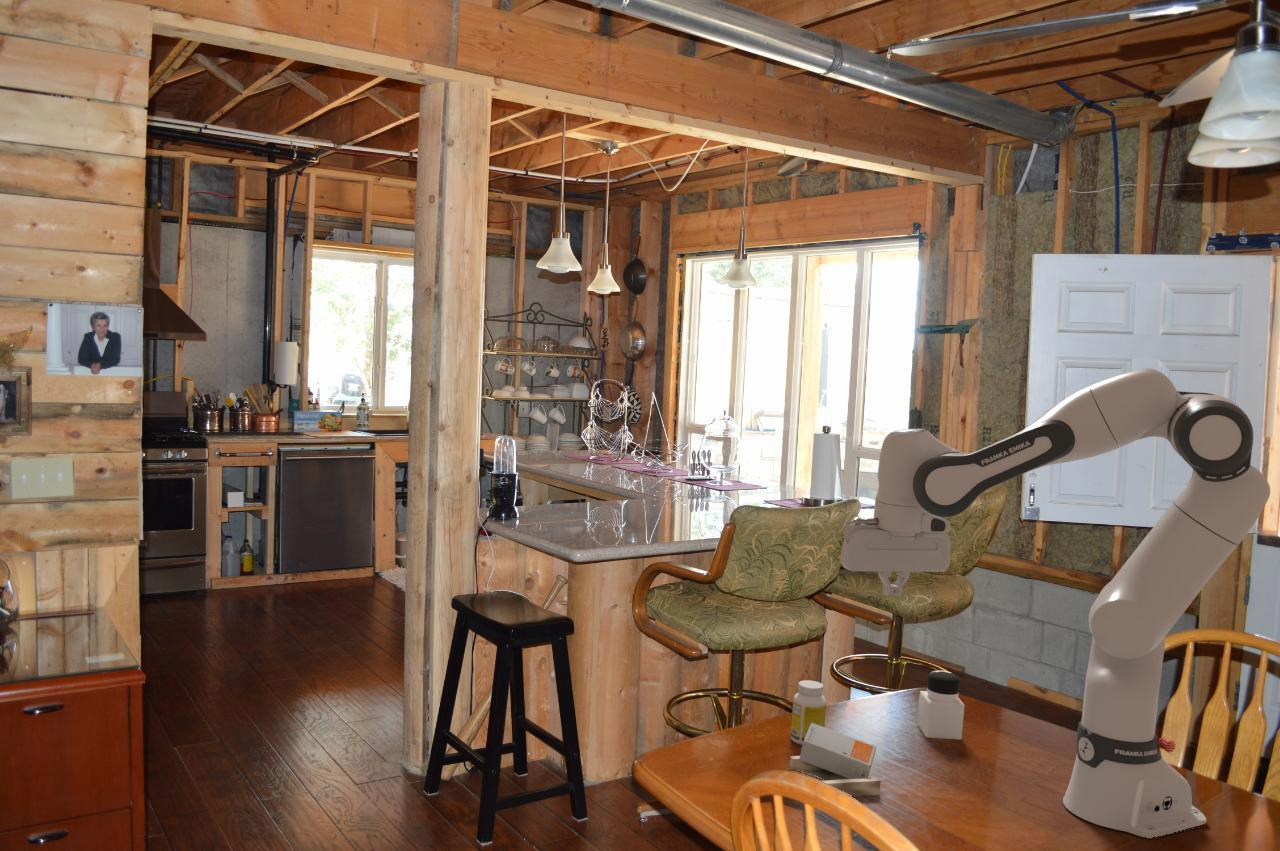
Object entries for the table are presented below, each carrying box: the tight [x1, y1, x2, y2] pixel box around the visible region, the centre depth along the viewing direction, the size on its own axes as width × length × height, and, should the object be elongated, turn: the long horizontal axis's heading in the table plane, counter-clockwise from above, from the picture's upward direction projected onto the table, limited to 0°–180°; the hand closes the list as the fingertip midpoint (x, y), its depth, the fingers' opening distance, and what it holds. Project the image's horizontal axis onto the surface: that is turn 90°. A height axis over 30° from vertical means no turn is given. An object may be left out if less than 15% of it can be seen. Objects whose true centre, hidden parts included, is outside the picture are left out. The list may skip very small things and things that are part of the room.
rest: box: [788, 755, 881, 798], centre depth 176 cm, size 12×11×2 cm
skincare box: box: [799, 723, 877, 779], centre depth 179 cm, size 6×4×12 cm
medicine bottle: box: [916, 670, 966, 741], centre depth 203 cm, size 7×7×12 cm
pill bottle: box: [790, 679, 827, 746], centre depth 194 cm, size 6×6×11 cm
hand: (891, 595), depth 183 cm, fingers closed
